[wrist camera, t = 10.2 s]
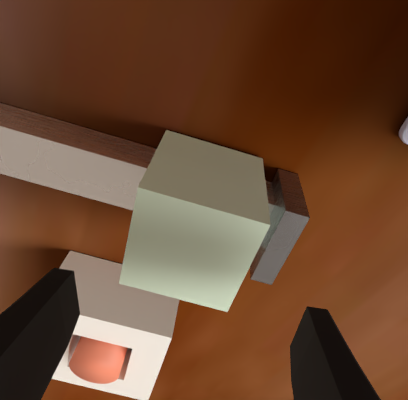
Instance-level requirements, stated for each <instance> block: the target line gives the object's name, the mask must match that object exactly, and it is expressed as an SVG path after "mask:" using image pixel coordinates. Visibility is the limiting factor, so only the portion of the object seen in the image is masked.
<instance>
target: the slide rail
mask: <svg viewBox="0 0 408 400" xmlns="http://www.w3.org/2000/svg"><path fill="white" fill-rule="evenodd" d="M156 149H157V148H153V147H150V146H147V145H143V144H140V143H136V142H133V141H129V140H126V139H123V138H119V137H116V136H112V135H109V134H106V133H102V132H99V131H95V130H92V129H89V128H85V127H82V126H78V125H75V124H71V123H68V122H65V121H61V120H58V119H54V118H51V117H48V116H44V115H41V114H37V113H34V112H30V111H27V110H24V109H20V108H17V107H13V106H10V105H7V104H3V103H0V174H4V175H7V176H11V177H14V178H18V179H22V180H25V181H29V182H32V183H36V184H40V185H43V186H47V187H50V188H54V189H58V190H61V191H65V192H68V193H72V194H76V195H79V196H83V197H86V198H90V199H93V200H97V201H101V202H104V203H108V204H111V205H115V206H119V207H122V208H126V209H129V210H133V209H134V204H135V199H136V194H137V189H138V186H139V184H140V182H141V180H142V178H143V176H144V174H145V172H146V170H147V168H148V166H149V164H150V162H151V159H152V157H153V155H154V153H155V151H156ZM266 188H267V197H268V206H269V215H270V224H271V225H270V227H269V229H268V231H267V233H266V235H265V237H264V239H263V241H262V243H261V245H260V247H259V249H258V251H257V253H256V255H255V257H254V259H253V261H252V263H251V265H250V274H251V279H252V280H256V281H260V282H263V283H267V284H271V285H272V283H273V281H274V279H275V278H276V276H277V274H278V272H279V271H280V269H281V267H282V265H283V264H284V262H285V260H286V258H287V257H288V255H289V253H290V252H291V250H292V248H293V246H294V245H295V243H296V241H297V239H298V238H299V236H300V234H301V232H302V231H303V229H304V227H305V225H306V224H307V222H308V220H309V218H310V217H309V213H308V209H307V206H306V202H305V198H304V195H303V191H302V187H301V184H300V180H299V176H298V174H295V173H292V172H289V171H285V170H282V169H279V168H278V170H277V172H276V174H275V176H274V178H273V181H272V182H269V181H266Z"/></svg>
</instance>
